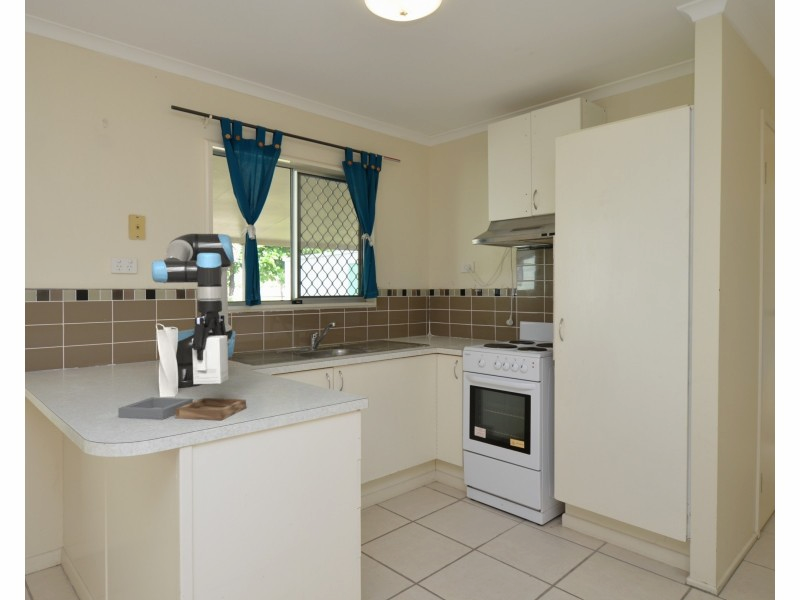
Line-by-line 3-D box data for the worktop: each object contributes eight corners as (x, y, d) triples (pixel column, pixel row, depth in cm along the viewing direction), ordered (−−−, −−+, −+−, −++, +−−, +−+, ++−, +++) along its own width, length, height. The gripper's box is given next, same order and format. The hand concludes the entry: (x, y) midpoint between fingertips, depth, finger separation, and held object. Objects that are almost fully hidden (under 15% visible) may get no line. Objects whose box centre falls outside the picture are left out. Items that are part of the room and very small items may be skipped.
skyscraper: (155, 398, 191) (153, 324, 190) (158, 394, 198) (157, 322, 198) (177, 396, 193) (176, 323, 192) (180, 392, 201) (179, 322, 200)
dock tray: (203, 406, 178) (203, 397, 177) (246, 408, 174) (245, 399, 174) (175, 418, 162) (175, 409, 162) (221, 420, 159) (220, 411, 159)
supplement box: (229, 379, 172) (228, 335, 172) (220, 384, 163) (219, 337, 163) (202, 379, 172) (201, 335, 172) (192, 384, 163) (191, 338, 163)
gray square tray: (151, 405, 179) (151, 397, 179) (192, 407, 176) (192, 398, 176) (118, 417, 164) (118, 408, 163) (162, 419, 160) (162, 410, 160)
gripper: (217, 299, 179) (219, 362, 179) (178, 301, 157) (179, 373, 157) (237, 299, 177) (238, 362, 178) (200, 301, 155) (201, 373, 156)
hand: (211, 367), depth 168 cm, fingers closed on supplement box, 10 cm apart
